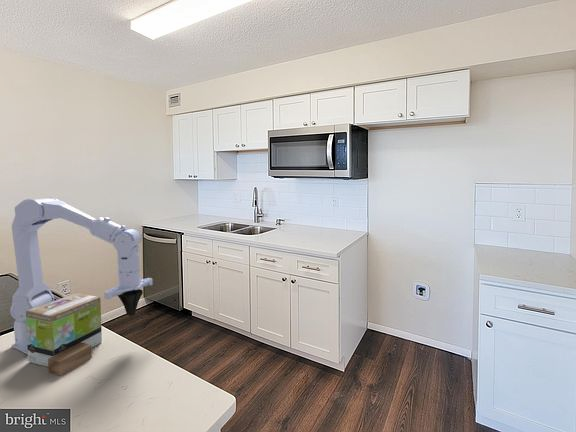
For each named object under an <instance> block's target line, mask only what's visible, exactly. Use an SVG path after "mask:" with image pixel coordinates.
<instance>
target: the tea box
mask: <svg viewBox="0 0 576 432" xmlns="http://www.w3.org/2000/svg"><path fill="white" fill-rule="evenodd" d="M101 302H102V301H101V297H100V296H95V295H89V294H82V293H78V292H77V293H75V292H74V293H73V294H70V295H67V296H64V297H61V298H58V299H56V300H55V299H54V301H53V302H50V303H47V304H44V305H41V306H38V307H35V308H32V309H29V310H27V311H26V325H27V346H28V354H27V360H28V361H27V362H29V363H32V364H36V365H39V366H44V367H47V368H48V359H49V358H51V357H53V356H55V355H56V354H58V353H60V352H62V351H64V350H66V349H68V348H70V347H72V346H74V345H76V344H78V343H80V342H82V343H86V344H90V345H91V349H92V348H94V347H95V346H98V345H100V344H101V343H102V335H103V333H102V308H101V307H102V306H101V304H102V303H101Z"/></svg>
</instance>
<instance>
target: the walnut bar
mask: <svg viewBox="0 0 576 432" xmlns="http://www.w3.org/2000/svg"><path fill="white" fill-rule="evenodd" d="M92 358H93V351H92V348H91V345H90V344H86V343H82V342H80V343H78V344H76V345H74V346H72V347H70V348H68V349H66V350H64V351H62V352H60V353H58V354H56V355H55V356H53V357H51V358H49V359H48V367H47V368H48V374H52V375H55V376H58V377H61V376H62V375H64V374H65V375H66V373H68V372H70V371H71V370H74V369H75V368H76V367H78V366H80V365H82V364H83V363H85V362H87V361H89V360H90V359H92Z"/></svg>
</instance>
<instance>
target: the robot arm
mask: <svg viewBox="0 0 576 432" xmlns="http://www.w3.org/2000/svg"><path fill="white" fill-rule="evenodd" d="M55 219H62V220H65V221H68V222H70V223H72V224H75V225H78V226H79V227H82V228H85V229H88V230H89V233H90V234H91V235H92V236H93V237H95V238H98V239H100V240H103V241H104V242H107V243H109V244H111V245H112V246H113V247H114V249H115V250H116V251H117V269H118V270H117V273H118V275H117V276H118V285H116V286H114V287H112V288H110V289H107V290H105V291H103V293H104V295H103V296H104V299H106V300H111V299H113V298H115V297H118V299H120V301H121V303H122V305H123V307H124V310H125V313H126V315H127V316H131V317H132V316H135V315H136V313H137V312H136V311H137V307H138V305H139V301H140V299H141V297H142V296H143V293H144V291H143V289H142V288H144V287H148V286H152V285H154V284H153V278H152V277H147V278H141V266H140V263H141V262H140V244H141V243H142V239H143V236H142V234H141V232H140V231H139V230H138V229H137V228H135V227H129V228H127V226H126V225H124V224H122V225H121V224H118V223H117V222H115V221H112V219H111V218H110V217H108V216H107V217H103V216H101V217H98V218H95V217H93V216H91V215H90V214H87V213H85V212H83V211H81V210H80V209H77V208H75V207H73V206H72V205H69V204H68V203H66V202H65V201H64V200H60V199H57V198H56V197H53V196H52V197H50V196H49V197H45V198H35V199H34V198H33V199H32V198H27V199H24V200H22V201H20V202H19V203H18V204H17V205H15V206H14V218H13V221H12V223H11V232H12V239H13V249H14V256H15V263H16V270H17V277H18V278H17V280H18V286H19V287H18V288H17V289H16V291H15V292H14V294H13V296H12V297H11V298H12V303H11V306H10V308H9V310H10V315H11V317H12V318H13V319H14V323H13V333H14V335H13V336H14V343H13V344H11V347H12V348H14V349H15V350H18V351H20V352H22V353H24V354H26V355H28V346H27V325H26V311H27V310H29V309H32V308H35V307H38V306H41V305H44V304H47V303H50V302H53V301H55V296H54V294H53V293H52V291H51V288H50V285H49V284H47V283H45V282H44V277H43V269H42V260H41V252H40V245H39V243H40V242H39V236H38V235H39V234H38V231H39V229H40V228H42V227H43V226H44V225H45V224H46V223H48V222H50V221H53V220H55Z"/></svg>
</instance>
